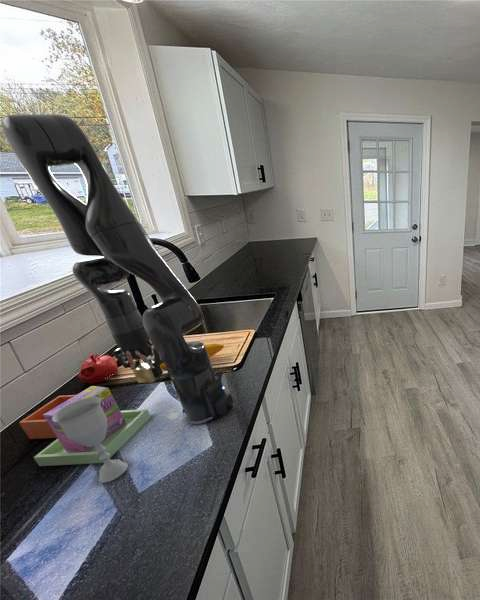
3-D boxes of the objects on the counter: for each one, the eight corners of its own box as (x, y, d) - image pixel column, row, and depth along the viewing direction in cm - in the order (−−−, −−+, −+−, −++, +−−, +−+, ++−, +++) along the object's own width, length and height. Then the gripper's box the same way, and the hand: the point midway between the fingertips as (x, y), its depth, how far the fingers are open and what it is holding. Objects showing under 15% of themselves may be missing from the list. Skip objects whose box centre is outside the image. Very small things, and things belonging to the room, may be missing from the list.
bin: (103, 409, 90) (94, 393, 88) (68, 437, 81) (58, 420, 79) (68, 411, 90) (59, 395, 88) (29, 439, 81) (18, 422, 79)
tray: (151, 417, 86) (147, 409, 85) (105, 462, 72) (100, 453, 71) (95, 420, 86) (90, 412, 85) (39, 466, 73) (33, 457, 72)
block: (163, 373, 96) (158, 360, 95) (152, 382, 92) (147, 369, 90) (149, 374, 97) (144, 361, 95) (138, 383, 92) (132, 370, 91)
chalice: (98, 492, 65) (57, 426, 59) (87, 478, 69) (47, 414, 62) (139, 466, 71) (106, 403, 64) (127, 454, 74) (94, 392, 68)
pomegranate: (112, 366, 112) (101, 343, 108) (127, 372, 107) (116, 349, 104) (77, 382, 104) (64, 358, 100) (91, 389, 99) (77, 365, 96)
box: (84, 455, 74) (60, 416, 69) (65, 452, 75) (41, 414, 70) (127, 423, 83) (109, 386, 79) (110, 421, 84) (91, 385, 80)
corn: (153, 349, 105) (219, 331, 115) (161, 367, 109) (225, 348, 119) (152, 360, 100) (222, 340, 110) (160, 379, 103) (227, 358, 113)
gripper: (91, 335, 85) (117, 386, 91) (142, 331, 84) (165, 383, 90) (115, 322, 92) (137, 371, 98) (162, 319, 91) (182, 368, 97)
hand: (150, 377), depth 94 cm, fingers closed on block, 4 cm apart
